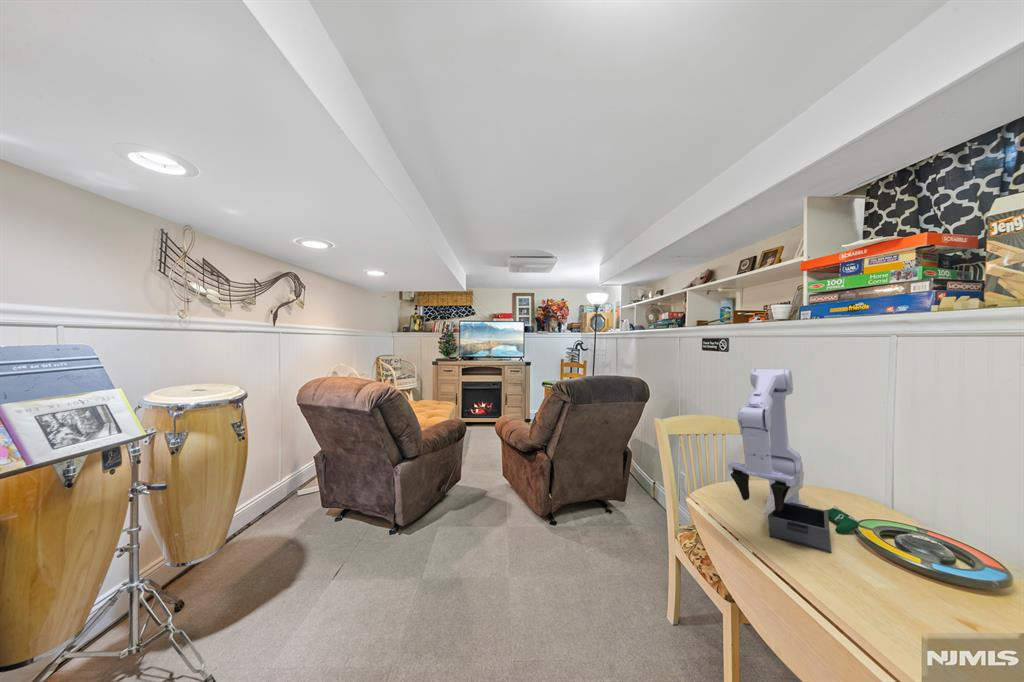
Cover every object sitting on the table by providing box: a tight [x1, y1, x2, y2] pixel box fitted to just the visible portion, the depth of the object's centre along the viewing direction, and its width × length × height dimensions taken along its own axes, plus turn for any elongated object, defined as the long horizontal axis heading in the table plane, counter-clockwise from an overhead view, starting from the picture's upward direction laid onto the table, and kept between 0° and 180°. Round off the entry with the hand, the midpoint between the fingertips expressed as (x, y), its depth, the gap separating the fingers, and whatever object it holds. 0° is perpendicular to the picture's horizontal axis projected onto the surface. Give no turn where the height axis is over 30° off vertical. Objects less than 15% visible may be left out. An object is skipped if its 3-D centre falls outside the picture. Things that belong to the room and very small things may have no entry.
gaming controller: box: [824, 505, 860, 535], centre depth 92 cm, size 9×4×6 cm
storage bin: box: [767, 502, 832, 554], centre depth 89 cm, size 16×12×6 cm
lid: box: [763, 470, 805, 517], centre depth 91 cm, size 13×13×1 cm
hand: (761, 504), depth 86 cm, fingers open, 7 cm apart
